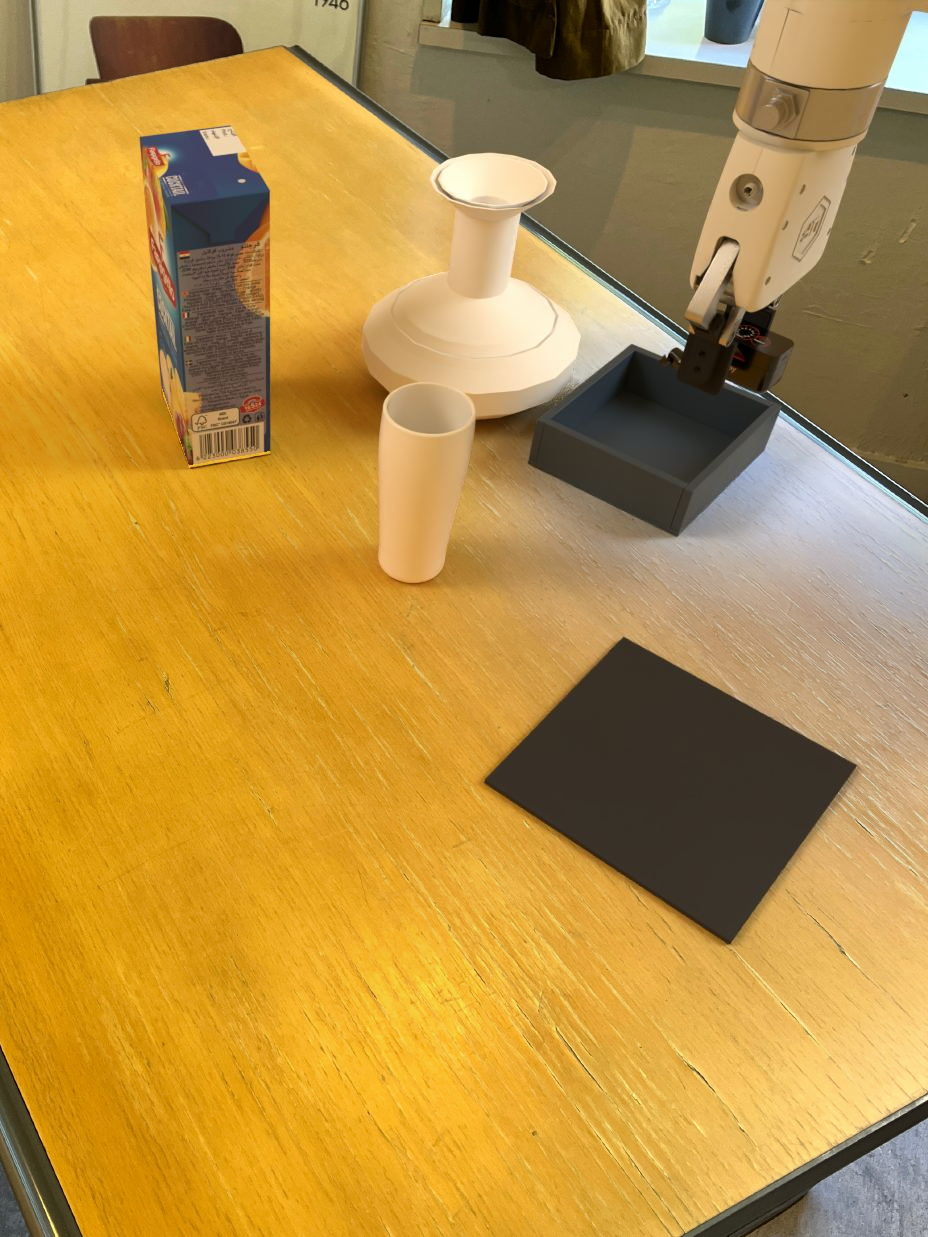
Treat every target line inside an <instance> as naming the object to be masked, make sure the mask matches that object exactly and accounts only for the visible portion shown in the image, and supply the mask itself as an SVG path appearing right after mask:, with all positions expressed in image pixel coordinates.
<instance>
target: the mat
mask: <svg viewBox="0 0 928 1237" xmlns="http://www.w3.org/2000/svg"><path fill="white" fill-rule="evenodd" d="M857 766H858V765H857V764H856V763H854V762H852V761H850V759H849V760H848V759H847V758H845V757H843V756H842V755H840V754H838V753H836V752H834V751H833V750H831V749H829V748H827V747H825V746H823V745H821V744H820V743H817V742H816V741H814V740H812V739H810V738H809V737H807V736H805V735H804V734H802V733H799V732H798V731H796V730H794V729H792V728H790V727H789V726H787V725H785V724H784V723H782V722H780V721H778V720H776V719H774V718H772V717H771V716H768V715H767V714H766V713H764V712H761V711H759V710H758V709H756V708H755V707H753V706H751V705H748V704H747V703H745V702H743V701H741V700H739V699H738V698H736V697H734V696H732V695H731V694H729V693H727V692H725V691H723V690H722V689H719V688H718V687H716V686H714V685H712V684H711V683H709V682H707V681H705V680H703V679H702V678H699V677H698V676H696V675H694V674H692V673H690V672H689V671H687V670H685V669H683V668H682V667H680V666H678V665H676V664H674V663H672V661H671V662H670V661H669V660H667V659H665V658H664V657H661V656H660V655H658V654H656V653H654V652H653V651H651V650H649V649H647V648H645V647H643V646H641V645H640V644H638V643H637V642H634V641H633V640H631V639H629V638H627V637H626V636H623V637H621V638H620V639H619V641H617V642H616V644H615V645H614V646H612V647H611V649H610V650H609V651H608V652H607V653H606V654H605V655H604V656H603V657H602V658H601V659H600V660H599V661H598V662H597V663H596V664H595V665H594V666H593V667H592V668H591V669H590V670H589V671H588V672H587V674H585V675H584V677H583V678H581V680H579V682H578V683H576V685H575V686H573V688H572V689H571V690H570V691H569V692H568V693H567V694H566V695H564V697H563V698H562V699H561V700H560V701H559V703H558V704H556V706H554V708H552V710H550V711H549V712H548V714H547V715H546V716H545V717H544V718H542V720H541V721H540V722H539V723H538V724H537V725H536V726H535V727H534V728H533V729H532V730H531V731H530V732H529V733H528V734H527V735H526V736H525V737H524V738H523V739H522V741H521V742H520V743H518V744H517V746H516V747H514V749H513V750H512V751H510V753H509V754H508V755H507V756H506V757H504V759H503V760H502V761H501V762H500V763H499V764H498V765H497V766H496V767H495V768H494V769H493V770H492V772H490V774H488V775H487V777H486V778H484V781H483V783H484V784H485V785H486V786H488V787H489V788H490V789H492V790H494V791H495V792H497V793H498V794H500V795H501V796H503V797H504V798H506V799H508V800H509V801H511V802H512V803H514V804H515V805H517V806H518V807H519V808H521V809H523V810H524V811H526V812H527V813H529V814H530V815H532V816H533V817H535V818H537V819H538V820H539V821H540V822H543V823H544V824H546V825H547V826H549V827H550V828H551V829H552V830H554V831H556V832H558V833H559V834H560V835H561V836H564V837H565V838H567V839H568V840H570V841H571V842H573V843H574V844H576V845H577V846H579V847H580V848H582V849H583V850H585V851H586V852H588V853H589V854H590V855H592V856H594V857H595V858H597V859H599V860H601V862H603V863H605V864H606V865H608V866H609V867H611V868H612V869H613V870H614V871H617V872H618V873H620V874H621V875H622V876H624V877H626V878H627V879H629V880H630V881H632V882H633V883H635V884H636V885H638V886H640V887H641V888H643V889H644V890H645V891H647V892H648V893H650V894H651V895H653V896H655V897H656V898H658V899H659V900H661V901H662V902H664V903H665V904H667V905H668V906H669V907H671V908H673V909H674V910H676V911H677V912H678V913H680V914H682V915H683V916H685V917H686V918H688V919H689V920H691V921H692V922H694V923H696V924H697V925H698V926H700V927H702V928H703V929H705V930H706V931H707V932H709V933H711V934H712V935H714V936H715V937H717V938H718V939H720V940H721V941H723V942H724V943H726V944H727V945H731V944H732V942H733V941H734V940H735V938H736V937H737V935H738V934H739V933H740V931H741V930H742V928H743V926H744V925H745V924H746V923H747V921H748V920H749V918H750V917H751V915H752V914H753V913H754V911H755V910H756V908H757V907H759V906H758V905H759V904H760V903H761V902H762V900H763V899H764V897H765V896H766V894H767V893H768V892H769V890H770V888H771V887H772V886H773V885H774V883H775V882H776V880H777V879H778V878H779V877H780V875H781V874H782V872H783V871H784V869H785V868H786V866H787V865H788V864H789V863H790V862H791V859H792V858H793V856H794V855H795V854H796V852H797V851H798V850H799V848H800V847H801V845H802V844H803V842H804V841H806V838H807V837H808V836H809V834H810V833H811V831H812V830H813V828H814V827H815V826H816V824H817V823H818V821H819V820H820V819H821V818H822V816H823V815H824V814H825V812H826V810H827V809H828V808H829V806H830V805H831V803H832V802H833V801H834V799H835V797H836V796H837V795H838V793H839V792H841V789H842V788H843V786H844V785H845V784H846V782H847V781H848V779H849V778H850V777H851V775H852V774H853V772H854V771H855V770H856V768H857Z"/></svg>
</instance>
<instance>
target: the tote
mask: <svg viewBox="0 0 928 1237" xmlns="http://www.w3.org/2000/svg"><path fill="white" fill-rule="evenodd" d="M662 356H663V355H660V354H658V353H656V352H653V351H650V350H648V349H646V348H643V347H641V346H638V345H637V344H633V343H631V344H629V345H628V346H626V348H625V349H623V350H622V351H621V352H619V353H618V354H617V355H615V356H614V357H613V358H611V359H610V360H609V361H608V362H607V363H606V364H604V365H603V366H602V367H600V368H599V369H598V370H596V371H595V372H594V373H593V374H592V375H591V376H588V378H587V379H585V380H584V381H582V383H580V384H579V385H578V386H576V387H575V388H574V389H572V391H570V392H569V393H567V395H565V396H564V397H563V398H562V399H560V400H559V401H558V402H556V403H555V404H554V405H553V406H551V408H549V409H548V410H547V411H545V412H544V413H542V414H541V415H540V416H539V417H538V418H537V419H536V421H535V426H534V430H533V437H532V441H531V444H530V445H531V446H530V450H529V455H528V460H527V464H528V465H530V466H531V467H534V468H536V469H538V470H540V471H542V472H544V473H546V474H548V475H550V476H553V477H554V478H556V479H558V480H561V481H562V482H565V483H567V484H569V485H571V486H572V487H575V488H577V489H579V490H581V491H583V492H585V493H586V494H589V495H591V496H593V497H594V498H597V499H599V500H601V501H603V502H605V503H607V504H609V505H611V506H613V507H616V508H618V509H620V510H622V511H624V512H626V513H627V514H630V515H632V516H634V517H636V518H638V519H640V520H641V521H644V522H646V523H648V524H650V525H652V526H654V527H656V528H658V529H660V530H662V531H664V532H666V533H668V534H670V535H672V536H675V537H676V538H677V537H679V536H680V535H681V534H682V533H683V532H684V531H685V530H686V529H687V528H688V527H689V526H690V525H691V524H692V523H693V522H694V521H695V520H696V519H697V518H699V516H700V515H701V514H702V513H703V512H704V511H705V510H706V509H707V508H708V507H709V506H710V505H711V504H712V503H713V502H714V501H715V500H716V499H717V498H718V497H719V496H720V495H721V494H722V493H723V492H724V491H725V490H726V489H727V488H728V487H730V485H731V484H733V482H734V481H735V480H736V479H737V478H738V477H739V476H740V475H742V473H743V472H745V470H746V469H748V467H749V466H750V465H752V464H753V462H754V461H756V459H757V458H758V457H759V456H760V455H761V454H763V452H764V451H765V450H766V448H767V445H768V442H769V440H770V437H771V435H772V432H773V430H774V427H775V425H776V423H777V420H778V417H779V415H780V413H781V410H782V406H783V405H780V404H779V403H777V402H774V401H772V400H770V399H767V398H765V397H762V396H759V395H758V394H756V393H753V392H751V391H748V390H746V389H743V388H741V387H739V386H738V387H737V386H735V385H732V384H731V383H728V382H726V381H725V383H724V386H723V389H722V391H721V392H719V393H718V394H717V395H711V394H708V393H706V392H704V391H701V390H699V389H697V388H694V387H692V386H690V385H687V384H685V383H683V382H680V381H679V380H678V379H677V377H676V375H677V371H678V370H676V369H675V368H673V367H671V366H670V365H669V364H668V363H667V366H663V365H661V364H659V360H660V359H661V358H662Z"/></svg>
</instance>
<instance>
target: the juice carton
mask: <svg viewBox="0 0 928 1237" xmlns="http://www.w3.org/2000/svg"><path fill="white" fill-rule="evenodd" d="M138 138H139V147H140V149H139V150H140V160H141V170H142V184H143V195H144V206H145V207H144V208H145V216H146V217H145V218H146V230H147V239H148V240H147V241H148V252H149V263H150V274H151V285H152V286H151V287H152V297H153V298H152V299H153V308H154V320H155V322H154V323H155V332H156V343H157V354H158V365H159V366H158V367H159V378H160V387H161V386H162V389H163V392H164V395H165V398H166V401H167V404H168V407H169V410H170V413H171V415H172V418H173V422H174V424H175V427H176V430H177V432H178V436H179V438H180V441H181V444H182V447H183V450H184V453H185V456H186V458H187V461H188V464H189V465H193V464H200V463H206V462H209V461H215V460H221V459H228V458H234V457H239V456H245V455H251V454H256V453H262V452H267V451H271V449H272V448H271V190H270V188H269V186H268V184H267V183H266V181H265V180H264V178H263V176H262V175H261V173H260V171H259V170H258V168H257V166H256V164H255V163H254V161H253V159H252V158H251V157H250V155H249V153H248V151H247V150H246V148H245V147H244V145H243V143H242V141H241V140H240V138H239V136H238V134H236V132H235V130H234V128H233V127H232V125H230V124H229V125H222V126H221V125H220V126H213V127H206V128H198V129H190V130H182V131H175V132H167V133H159V134H150V135H142V136H139V137H138ZM183 450H182V451H183ZM271 452H272V451H271ZM184 453H183V454H184ZM185 456H184V457H185ZM187 461H186V462H187ZM188 464H187V465H188Z"/></svg>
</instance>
